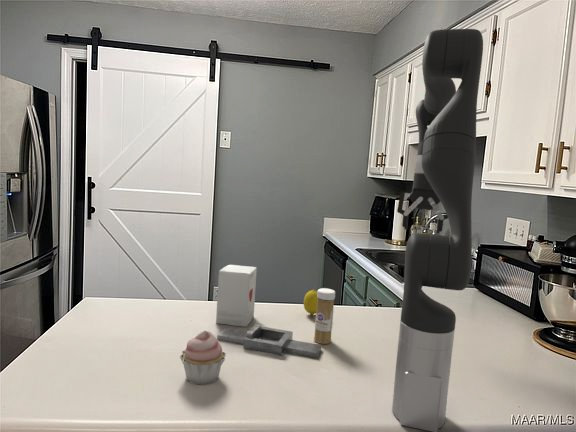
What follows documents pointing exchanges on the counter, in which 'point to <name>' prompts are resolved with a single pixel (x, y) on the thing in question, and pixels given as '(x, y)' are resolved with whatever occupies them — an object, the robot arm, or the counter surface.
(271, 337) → the grey frame base plate
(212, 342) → the cupcake
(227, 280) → the supplement box
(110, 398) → the counter surface
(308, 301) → the lemon
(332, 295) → the sprinkles bottle
